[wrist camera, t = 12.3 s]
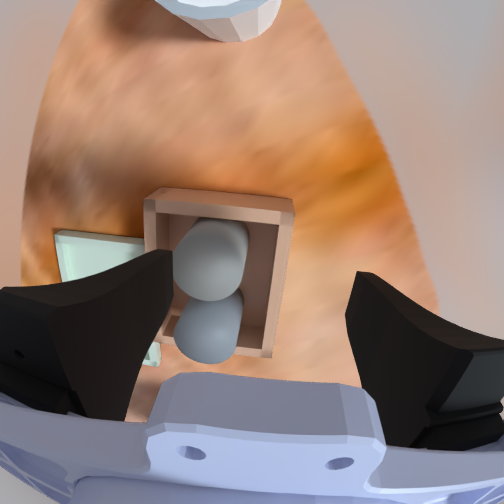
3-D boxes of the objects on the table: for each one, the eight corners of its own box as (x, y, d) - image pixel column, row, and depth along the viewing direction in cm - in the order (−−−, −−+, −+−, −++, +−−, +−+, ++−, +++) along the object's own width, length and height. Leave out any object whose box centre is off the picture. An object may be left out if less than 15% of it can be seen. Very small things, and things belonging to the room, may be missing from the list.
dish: (272, 332, 25) (271, 358, 22) (164, 317, 25) (153, 341, 22) (292, 199, 20) (294, 213, 18) (160, 187, 21) (143, 198, 18)
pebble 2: (235, 327, 24) (226, 371, 20) (187, 311, 24) (169, 351, 19) (251, 286, 23) (244, 327, 18) (199, 268, 23) (179, 305, 18)
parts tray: (161, 358, 27) (157, 367, 26) (84, 340, 27) (79, 348, 26) (152, 239, 22) (146, 245, 21) (62, 229, 23) (54, 234, 21)
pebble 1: (244, 268, 22) (236, 307, 18) (189, 257, 22) (168, 292, 18) (254, 215, 21) (249, 242, 16) (195, 204, 21) (173, 227, 16)
